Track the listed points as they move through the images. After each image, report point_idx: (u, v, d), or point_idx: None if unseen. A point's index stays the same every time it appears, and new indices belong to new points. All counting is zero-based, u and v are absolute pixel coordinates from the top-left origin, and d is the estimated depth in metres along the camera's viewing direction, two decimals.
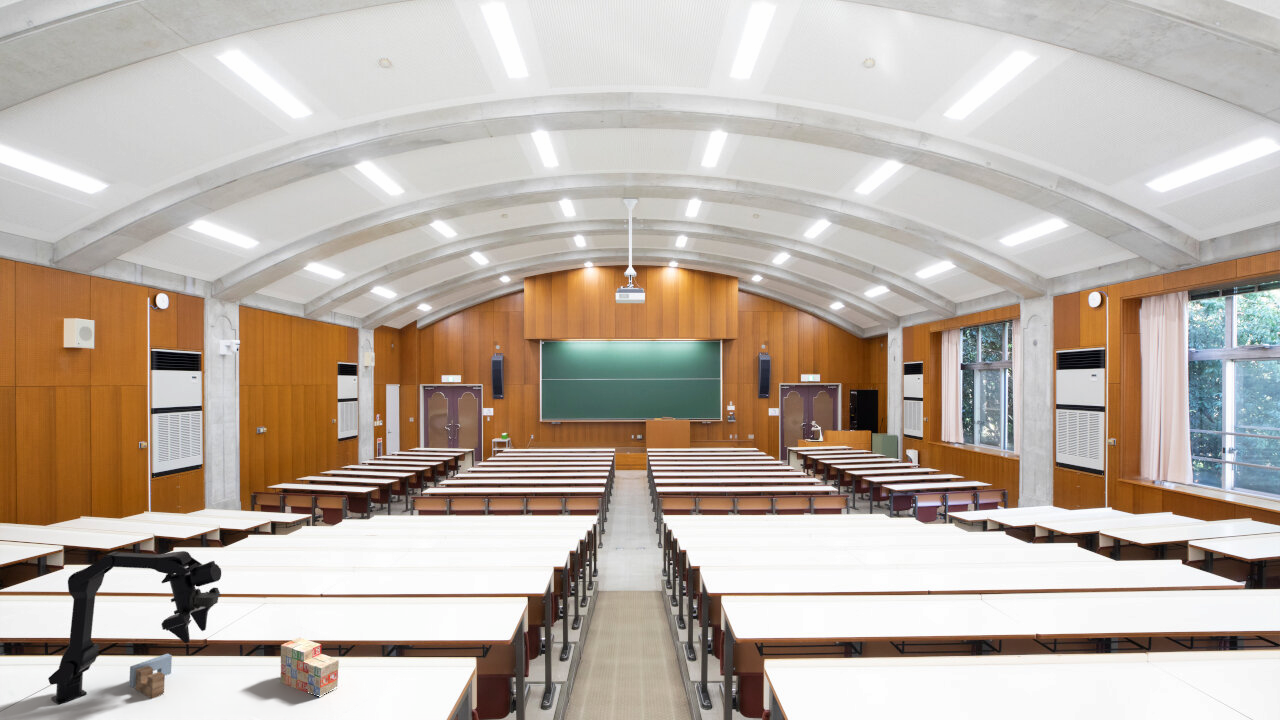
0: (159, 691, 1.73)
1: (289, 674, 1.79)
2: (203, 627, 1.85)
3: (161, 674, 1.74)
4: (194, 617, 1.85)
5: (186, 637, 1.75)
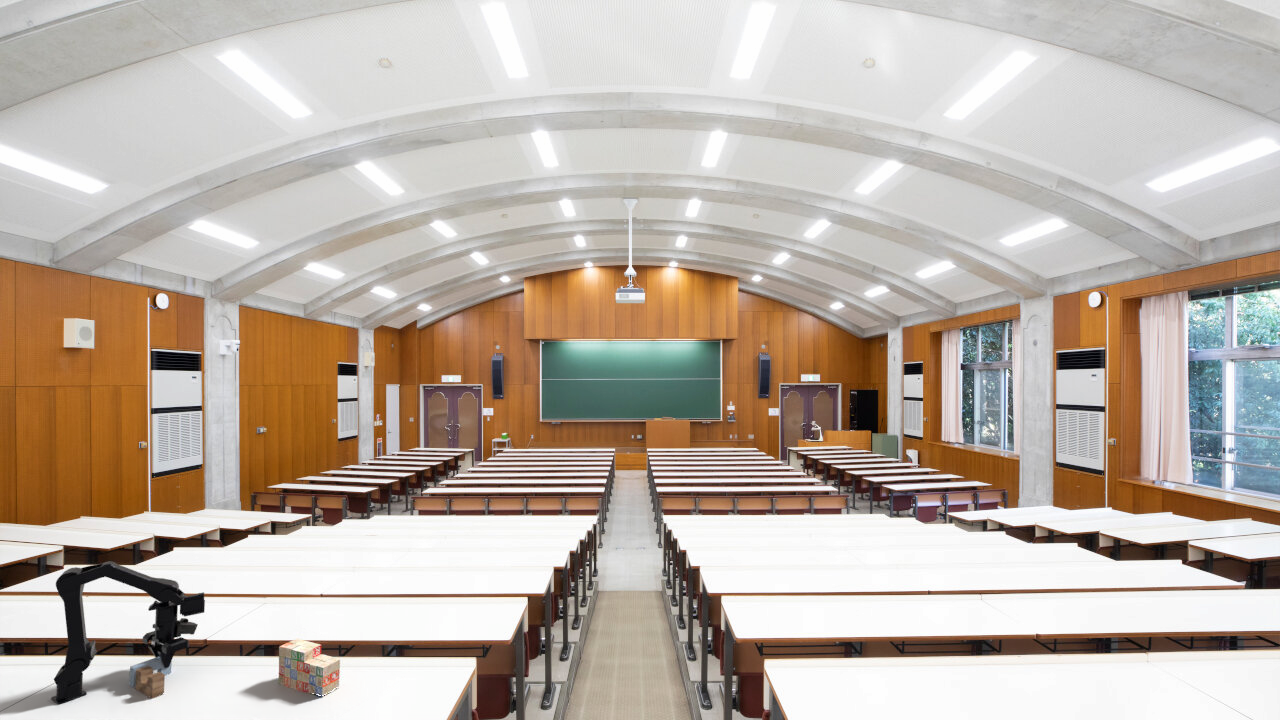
0: (159, 691, 1.73)
1: (288, 675, 1.78)
2: None
3: (161, 674, 1.74)
4: (155, 652, 1.86)
5: (170, 661, 1.86)
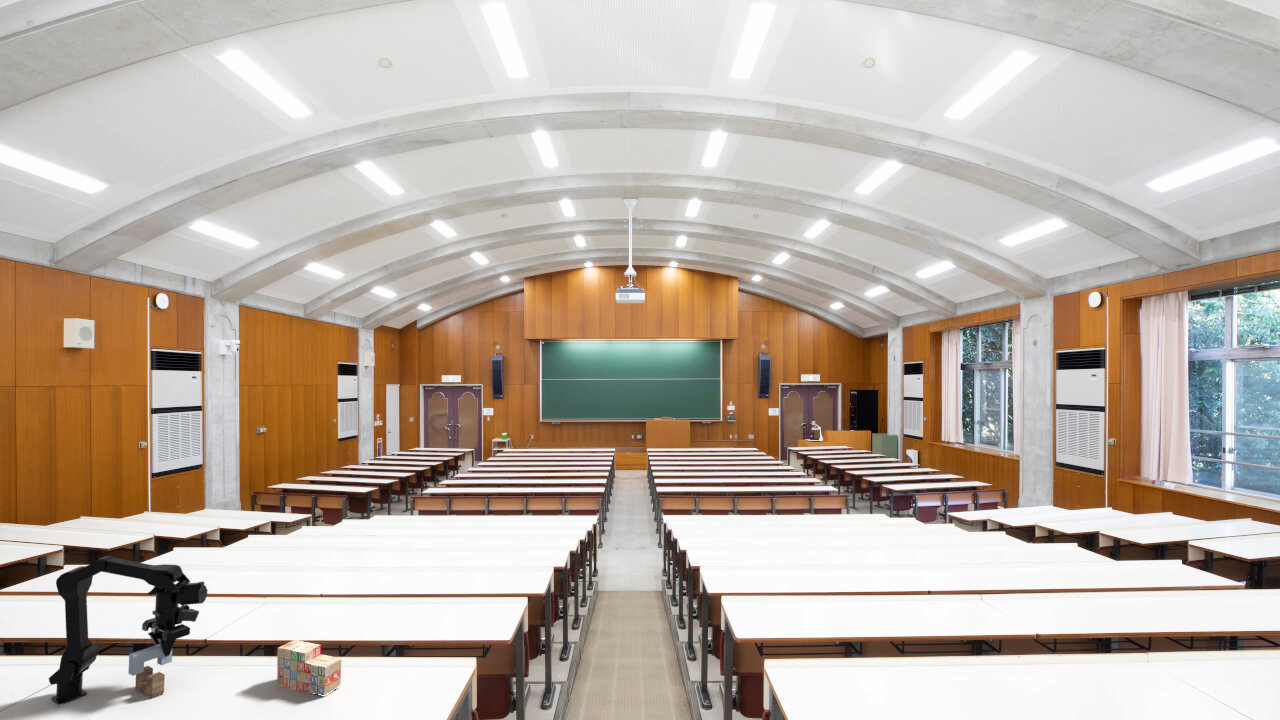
0: (159, 691, 1.73)
1: (287, 677, 1.77)
2: None
3: (161, 674, 1.74)
4: (155, 639, 1.79)
5: (170, 649, 1.79)
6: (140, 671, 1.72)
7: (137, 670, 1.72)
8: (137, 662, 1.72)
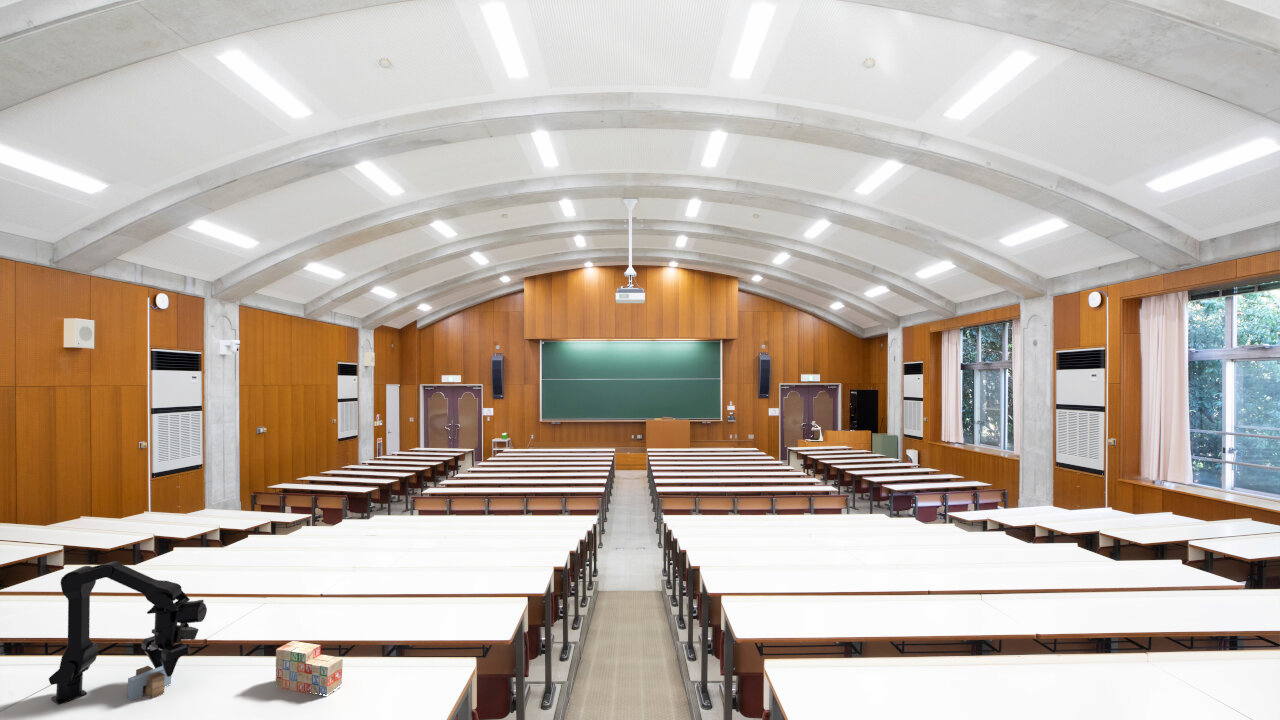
0: (159, 691, 1.73)
1: (287, 678, 1.77)
2: None
3: (161, 674, 1.74)
4: (152, 657, 1.79)
5: (172, 669, 1.77)
6: (139, 695, 1.72)
7: (136, 694, 1.71)
8: (136, 686, 1.71)
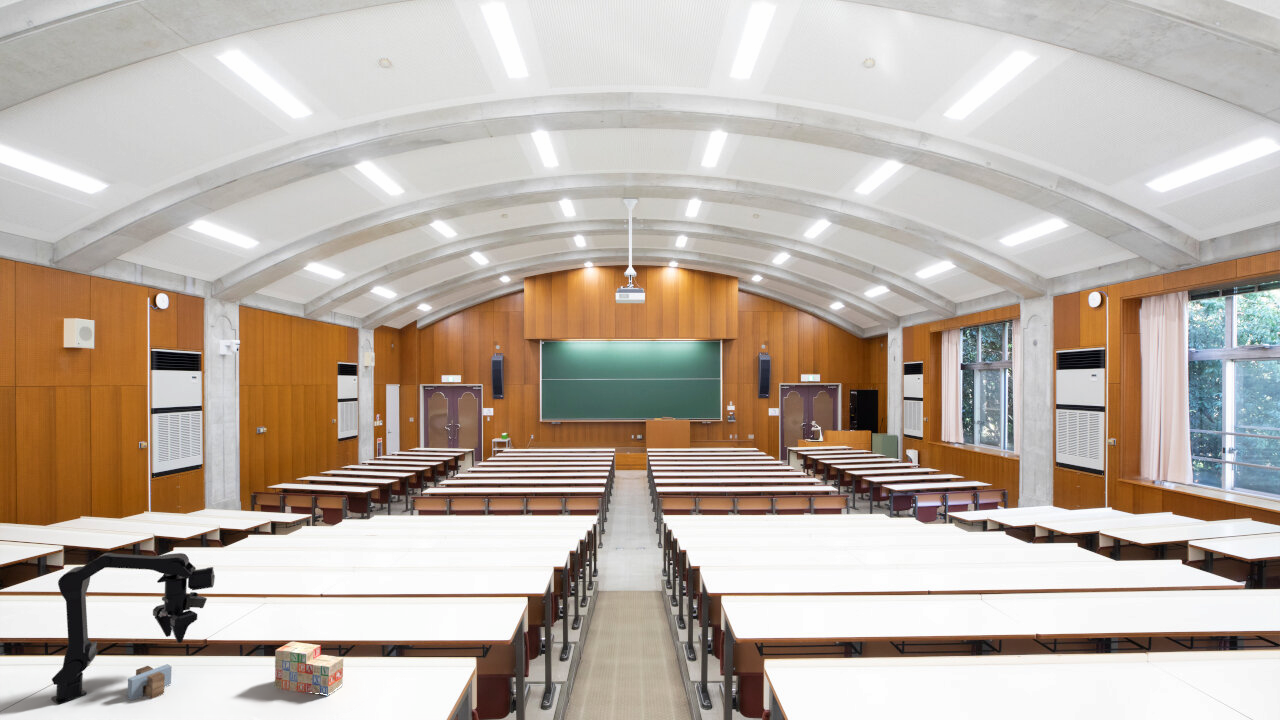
0: (159, 691, 1.73)
1: (287, 678, 1.76)
2: (169, 633, 1.88)
3: (161, 674, 1.74)
4: (161, 623, 1.87)
5: (182, 636, 1.83)
6: (139, 695, 1.72)
7: (136, 694, 1.71)
8: (136, 686, 1.71)
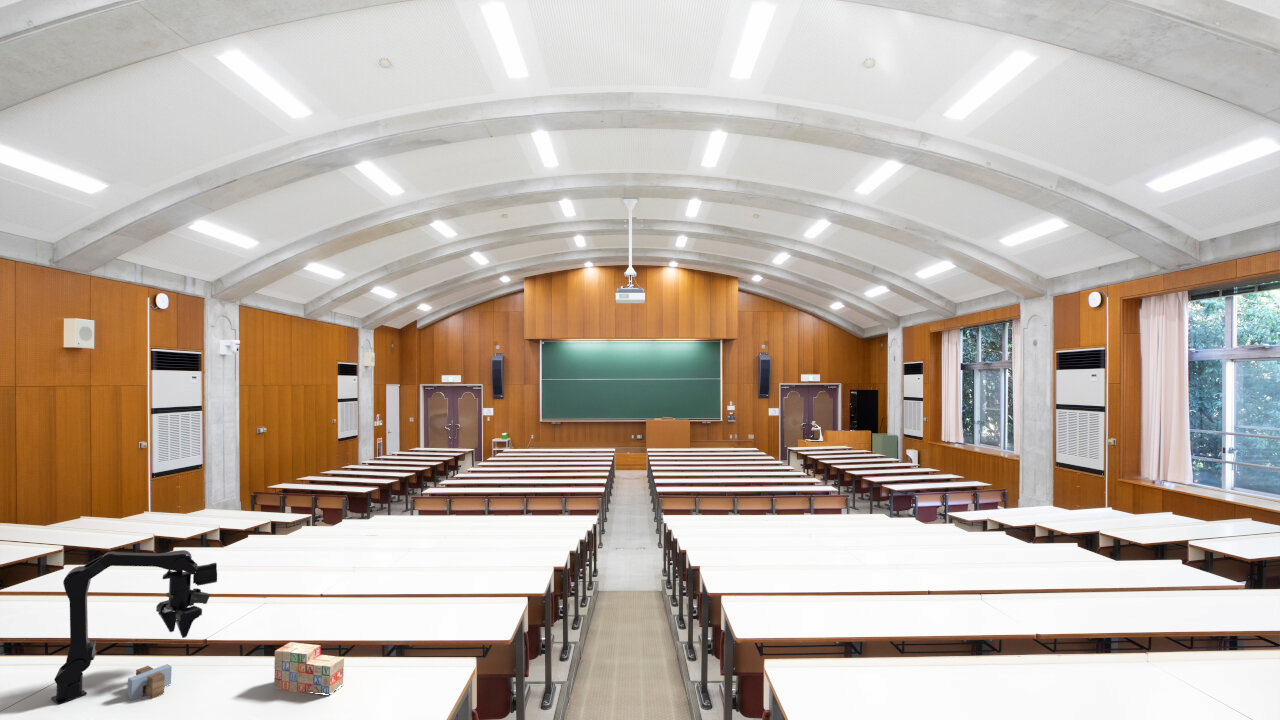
0: (159, 691, 1.73)
1: (287, 679, 1.76)
2: (173, 628, 1.92)
3: (161, 674, 1.74)
4: (165, 618, 1.90)
5: (187, 631, 1.87)
6: (139, 695, 1.72)
7: (136, 694, 1.71)
8: (136, 686, 1.71)
